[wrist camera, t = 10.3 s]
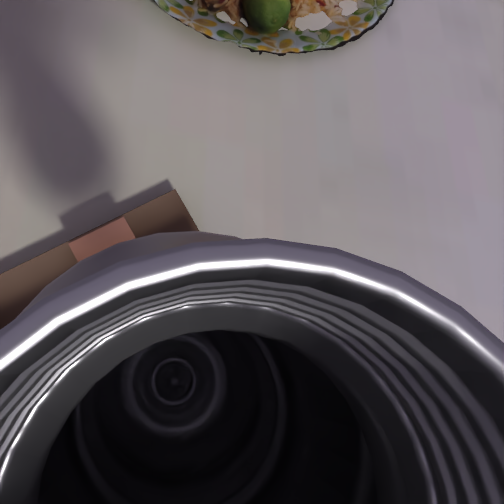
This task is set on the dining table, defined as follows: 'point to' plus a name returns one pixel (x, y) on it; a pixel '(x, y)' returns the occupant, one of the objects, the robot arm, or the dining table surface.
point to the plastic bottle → (247, 382)
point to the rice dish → (277, 22)
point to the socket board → (89, 250)
